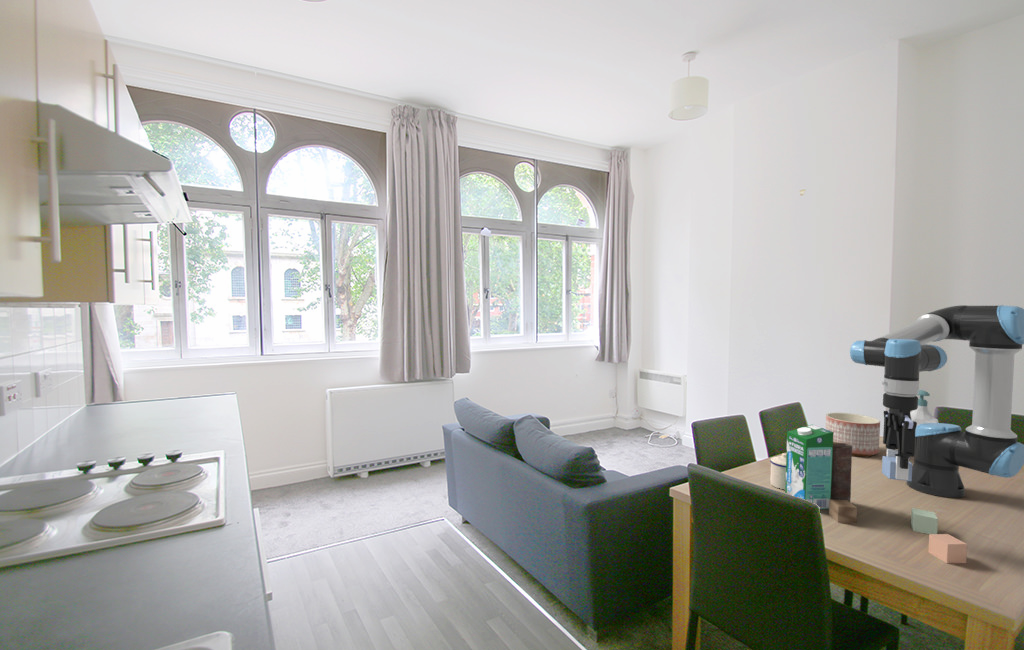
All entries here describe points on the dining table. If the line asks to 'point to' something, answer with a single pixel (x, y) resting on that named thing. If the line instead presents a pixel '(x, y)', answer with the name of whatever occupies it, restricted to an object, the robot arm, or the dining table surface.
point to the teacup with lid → (778, 471)
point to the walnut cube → (842, 511)
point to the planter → (855, 432)
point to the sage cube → (924, 521)
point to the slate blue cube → (893, 468)
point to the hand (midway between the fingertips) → (896, 475)
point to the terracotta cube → (947, 548)
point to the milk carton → (810, 464)
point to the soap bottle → (922, 411)
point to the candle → (841, 471)
